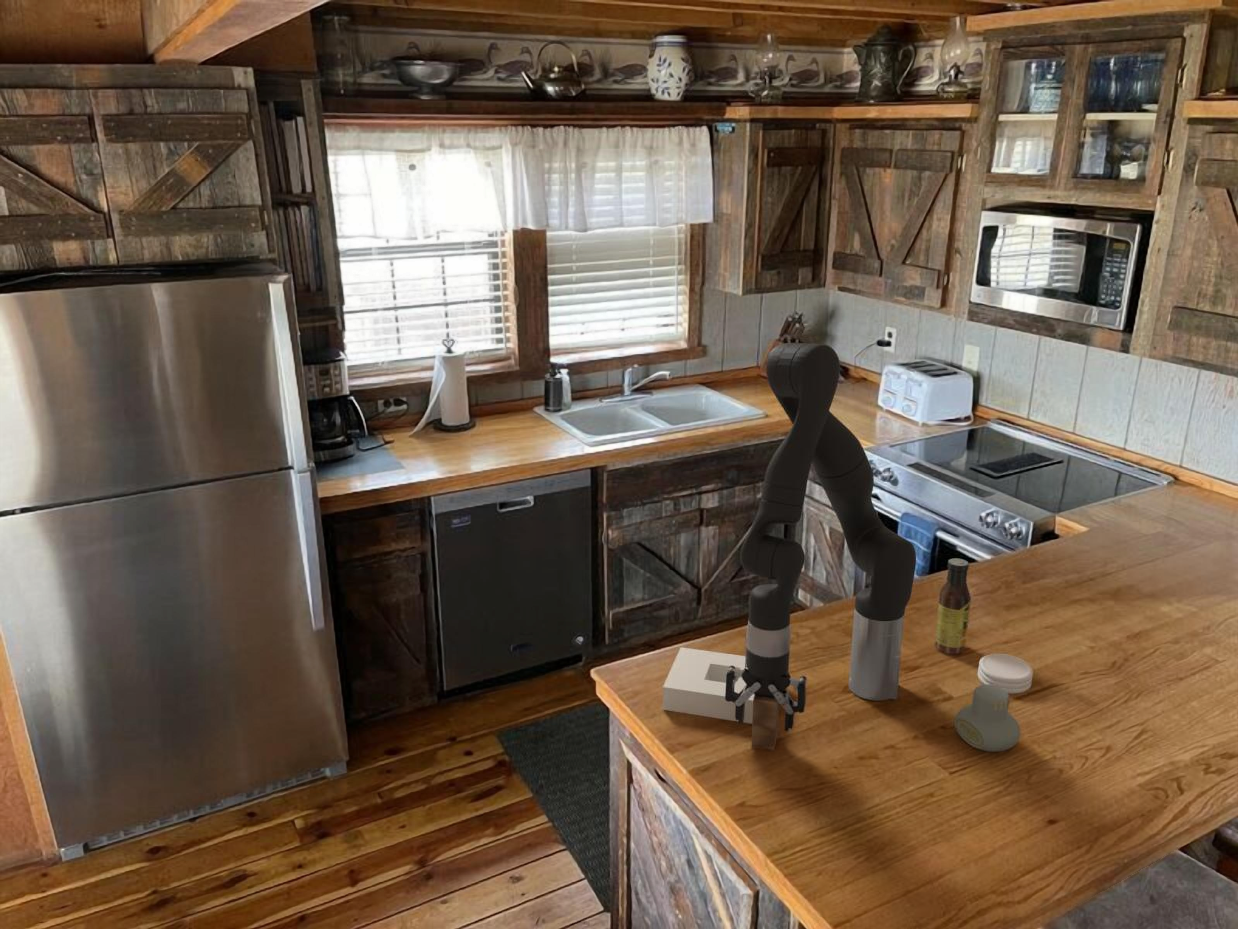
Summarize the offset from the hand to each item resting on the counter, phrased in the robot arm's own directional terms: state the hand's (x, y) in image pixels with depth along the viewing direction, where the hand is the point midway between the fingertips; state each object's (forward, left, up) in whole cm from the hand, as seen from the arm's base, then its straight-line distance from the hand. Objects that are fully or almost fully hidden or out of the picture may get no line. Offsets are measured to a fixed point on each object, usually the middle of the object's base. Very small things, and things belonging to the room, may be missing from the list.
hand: (763, 724), depth 166 cm
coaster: (-43, -33, -4) cm, 54 cm away
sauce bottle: (-33, -43, -4) cm, 54 cm away
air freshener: (-38, -11, -4) cm, 40 cm away
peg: (0, 0, -4) cm, 4 cm away
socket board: (+10, -13, -4) cm, 16 cm away
